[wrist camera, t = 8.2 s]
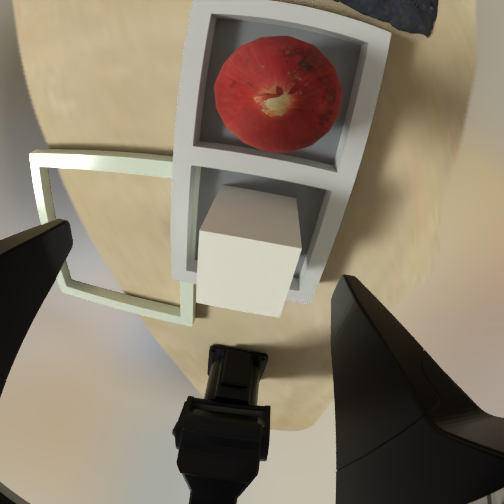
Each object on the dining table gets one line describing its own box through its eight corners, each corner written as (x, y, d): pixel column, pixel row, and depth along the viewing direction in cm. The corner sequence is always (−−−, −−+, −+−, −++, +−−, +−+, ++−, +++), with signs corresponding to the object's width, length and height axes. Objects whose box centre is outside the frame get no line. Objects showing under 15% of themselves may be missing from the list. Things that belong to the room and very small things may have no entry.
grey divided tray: (308, 283, 24) (309, 304, 22) (180, 260, 24) (171, 279, 22) (377, 37, 12) (391, 32, 10) (204, 5, 12) (193, -5, 10)
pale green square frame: (195, 318, 28) (192, 327, 27) (66, 284, 27) (61, 291, 27) (205, 160, 19) (200, 165, 18) (37, 149, 18) (29, 153, 17)
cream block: (280, 258, 21) (279, 317, 17) (215, 246, 21) (196, 302, 16) (296, 198, 19) (301, 248, 14) (221, 184, 18) (199, 230, 14)
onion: (278, 26, 12) (277, -12, 6) (347, 93, 14) (398, 113, 8) (210, 91, 15) (158, 108, 8) (278, 153, 17) (276, 212, 11)
